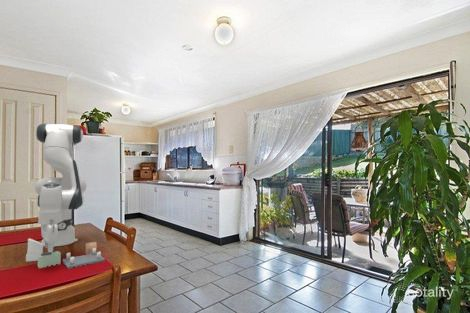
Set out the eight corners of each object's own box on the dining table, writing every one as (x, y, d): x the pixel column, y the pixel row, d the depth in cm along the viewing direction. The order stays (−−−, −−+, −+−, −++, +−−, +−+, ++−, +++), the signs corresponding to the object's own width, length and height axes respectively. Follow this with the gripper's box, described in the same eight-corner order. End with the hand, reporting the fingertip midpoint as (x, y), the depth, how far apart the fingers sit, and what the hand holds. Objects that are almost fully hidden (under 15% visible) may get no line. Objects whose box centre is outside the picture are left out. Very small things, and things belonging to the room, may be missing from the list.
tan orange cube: (84, 253, 137) (84, 243, 137) (94, 251, 140) (95, 241, 140) (86, 255, 133) (87, 245, 133) (97, 253, 136) (97, 243, 137)
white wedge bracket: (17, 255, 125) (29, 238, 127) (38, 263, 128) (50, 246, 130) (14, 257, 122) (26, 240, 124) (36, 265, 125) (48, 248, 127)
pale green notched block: (37, 265, 119) (38, 253, 119) (58, 261, 124) (58, 249, 124) (38, 268, 115) (39, 255, 115) (60, 264, 120) (60, 252, 121)
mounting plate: (62, 261, 124) (62, 252, 124) (96, 254, 134) (97, 246, 134) (67, 268, 114) (68, 259, 114) (104, 261, 124) (104, 252, 125)
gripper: (62, 220, 115) (61, 253, 114) (54, 215, 130) (53, 244, 129) (44, 222, 110) (43, 256, 109) (39, 217, 125) (37, 246, 124)
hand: (48, 249), depth 119 cm, fingers open, 8 cm apart
